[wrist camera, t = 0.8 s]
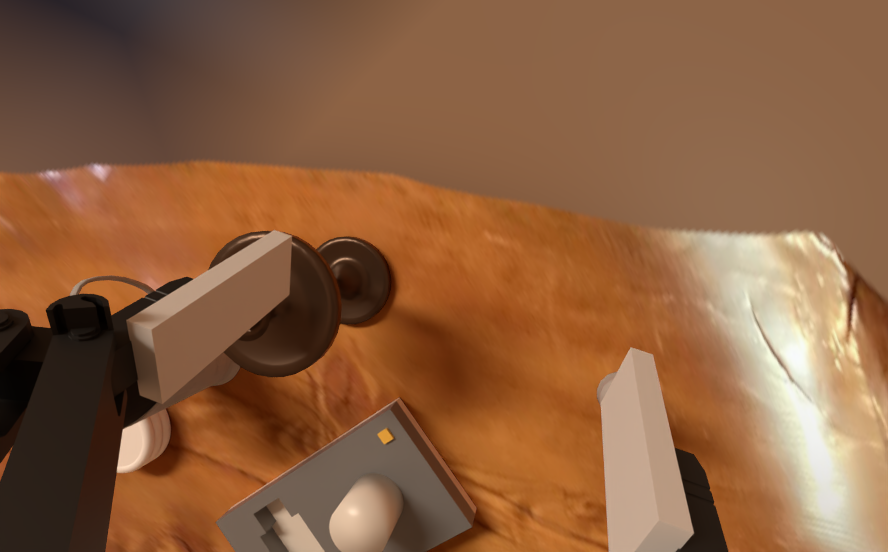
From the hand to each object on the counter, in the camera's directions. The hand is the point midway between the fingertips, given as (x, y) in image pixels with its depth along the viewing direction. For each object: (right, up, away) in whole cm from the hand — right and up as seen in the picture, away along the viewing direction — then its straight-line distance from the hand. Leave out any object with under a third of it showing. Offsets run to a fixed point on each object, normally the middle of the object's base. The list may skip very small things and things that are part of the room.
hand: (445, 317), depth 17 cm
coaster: (-38, -16, +39) cm, 57 cm away
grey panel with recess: (-11, -24, +33) cm, 43 cm away
